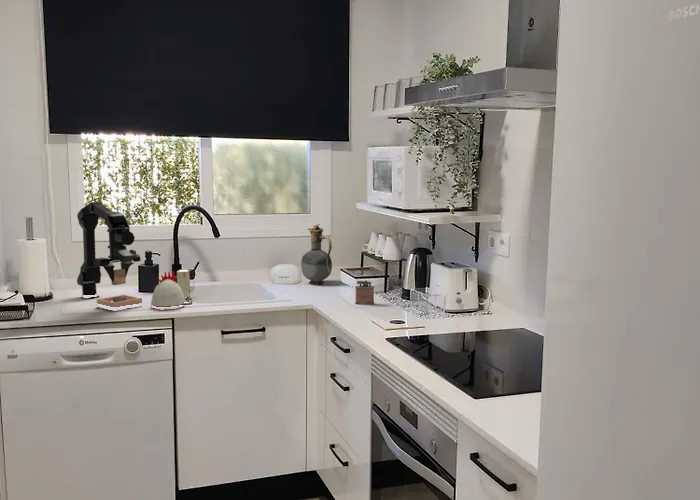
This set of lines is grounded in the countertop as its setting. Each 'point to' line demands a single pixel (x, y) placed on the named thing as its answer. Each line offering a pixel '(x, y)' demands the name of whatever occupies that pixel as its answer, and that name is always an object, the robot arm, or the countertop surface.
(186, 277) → the skincare box
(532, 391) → the countertop surface
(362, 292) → the lighter
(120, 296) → the brown square tray
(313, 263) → the pitcher
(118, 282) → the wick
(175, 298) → the grey crested dome
